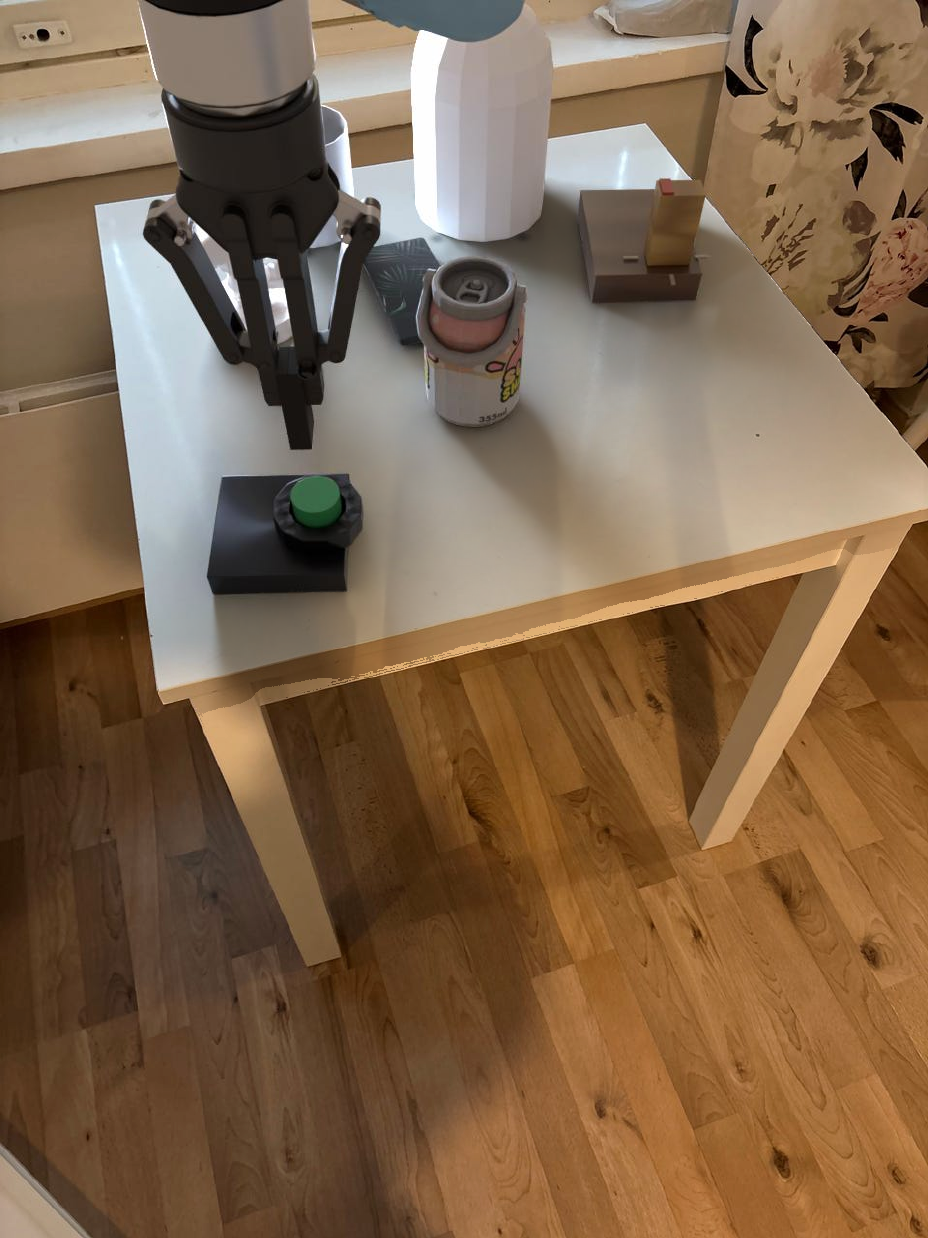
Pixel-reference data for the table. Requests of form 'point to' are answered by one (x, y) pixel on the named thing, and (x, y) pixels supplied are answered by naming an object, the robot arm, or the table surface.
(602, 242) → the plate
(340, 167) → the cup
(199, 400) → the table surface
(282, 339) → the character figurine
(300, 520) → the open button
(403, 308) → the smartphone
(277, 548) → the box
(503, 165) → the container
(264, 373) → the robot arm
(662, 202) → the tan wooden block
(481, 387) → the beverage can
